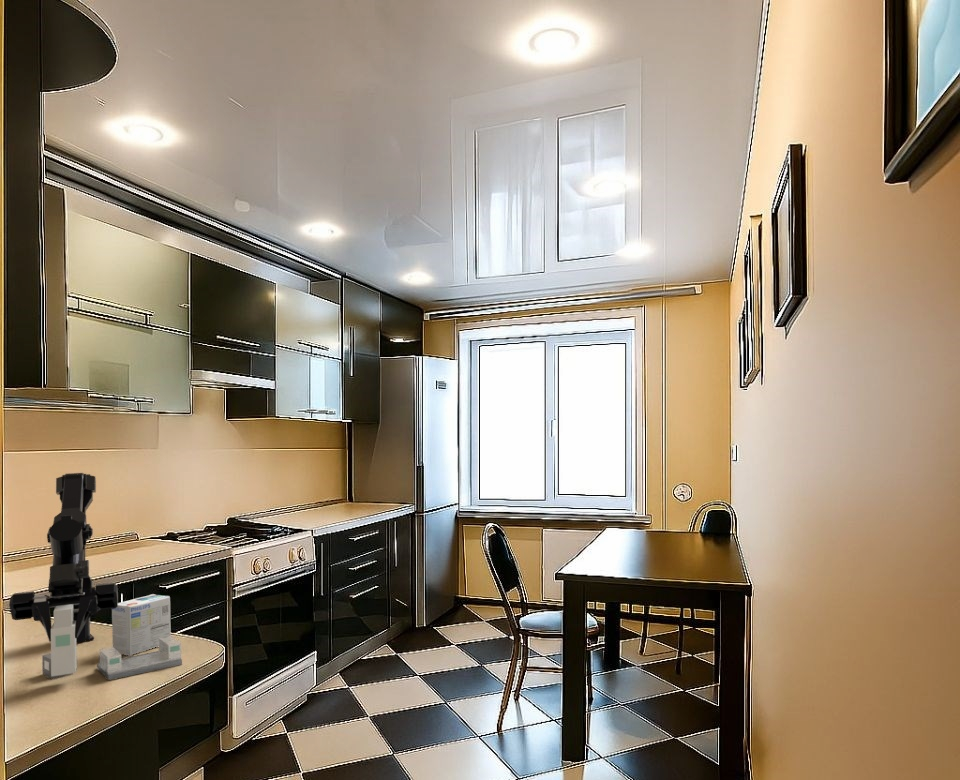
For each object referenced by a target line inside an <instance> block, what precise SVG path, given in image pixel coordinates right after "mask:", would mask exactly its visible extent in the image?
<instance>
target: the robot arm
mask: <svg viewBox="0 0 960 780" xmlns="http://www.w3.org/2000/svg"><path fill="white" fill-rule="evenodd" d="M96 479H97V478H96V476H95V475H92V474H90V473H88V474H87V473H84V472H75V473H72V472H70V473H65V474H62V475H61V476H59V477H56V478H55V493H56V495H57V496H59V500H60V503H61V508H60V512H59V513H58V514H57V515H55V516H54V517H53V523H52V525H51V526H50V527H49V528H48V531H47V533H46V538H47V539H46V541H47V543H48V544H50V548H51V553H52V556H53V557H52V565H51V566H49V579H48V587H47V589H48V593H49V595H47V594H39V595H38V594H37V595H36V594H35V591H34V590H32V591H31V590H30V591H25V592H24V591H22V592H15V593H13V594H12V595H11V596H10V597H9V605H8V606H9V609H10V615H11V619H12V620H14V621H22V620H29V619H32V618H33V620H34V622H40V624H41V625H42V627H43V628H44V631H45V633H46V636H47V640H48V641H49V642H50V643H51V627H52V625H53V624H52V615H51V609H50V608H55V607H56V606H61V605H69V604H73V621H76V626H75V638H77V643H83V642H86V641H88V642H89V641H92V640H95V637H94V635H93V634H92V633H91V617H92V615H96V614H97V613H98V612H100V611H104V610H105V611H106V610H112V609H114V608H116V607H118V603H119V595H118V585H117V584H116V583H115V582H107V583H99V584H98V583H97V584H95V586H93V580H92V577H91V576H90V560H88V559H87V560H86V551H87V550H86V546H87V542H88V541H90V540H91V539H92V537H93V535H94V530H93V528H92V526H91V524H90V523H87V510H88V508H89V507H90V506H91V504H92V503H93V501H94V494H95V493H96V492H97V480H96Z"/></svg>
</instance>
